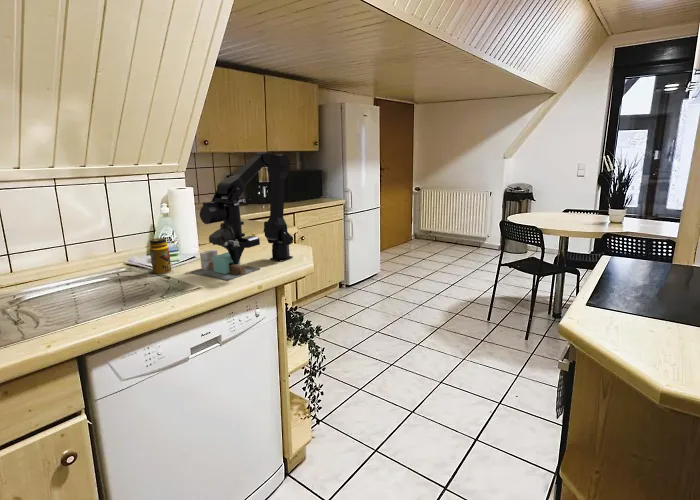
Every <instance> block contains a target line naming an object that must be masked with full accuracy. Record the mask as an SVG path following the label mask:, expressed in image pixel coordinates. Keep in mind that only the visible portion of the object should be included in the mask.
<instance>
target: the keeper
mask: <svg viewBox="0 0 700 500" xmlns="http://www.w3.org/2000/svg"><path fill="white" fill-rule="evenodd" d="M229 263H230V264H234V262H233V260H232V258H231V256H230V254H229V252H228V251H227V252H224V253H221V254H218V255H216V256H213V266H214V272H219V273H224V274H227V273H230V271H229ZM237 265H241V259H240V260H239V263H238V264H237Z"/></svg>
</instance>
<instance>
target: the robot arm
mask: <svg viewBox="0 0 700 500" xmlns="http://www.w3.org/2000/svg"><path fill="white" fill-rule="evenodd" d="M264 167H266V168H267V172H268V174H269V176H270V179H271V180H270V181H271V183H270V208H269V209H270V210H269V218H267V219H268V220H267V221H264V222H263V225H264V227H263V233H264V237H266V241H267V242H268V244H271V247H272V248H271V255H272V256H271V257H269V260H272V261H279V262H284V261H286V260H290V259H293V258H294V256H293V255H290V254H291V253H290V245H292V244H293V241H294V237H293V236H292V234H290V233H289V232H288V226H287V225H288V224H287V223H286V220H285V218H284V209H285V208H284V207H285V205H284V204H285V181H286V178H287V176H288V175H289V173H290V169H291V158H289V156H288V155H286V154H272V153H269V152H266V151H265V152H264V151H263V152H261V151H260V152H256V153H254V154H253V157H251V158H250V159H249V161H247V162H246V163H245V164H244V165H243V166H242V167H241V168H240V169H239V170H237V172H236V173H234V174H233V175H231V176H229V177H227V178H225V179H223V180H221V181H220V182H218V184H217V186H216V191H215V192H214V195H213V196H212V198H211V201H210V202H206V201H205V202H202V207H201V208H200V212H199V217H200V220H201V222H202V223H204V224H205V225H211V224H215V223H220V225H219V226H220V228H219V229H216V230H215V231H214V232H213V233H211V234H209V237H208V242H209V244H212V245H213V246H219V247H222V248H223V249H225V250H227V252H229V254H230V256H231V258H232V260H233V262H234V264H236V265H237V264H238V263H239V260H240V261H241V258H242V255H243V252H244V250H245V249H249V248H253V247H256V246H260V245H261V241H260V238H259V237H258V236H255V235H247V236H246V233H243V231H242V230H243V228H242V226H243V225H245V221H242V219H241V209H240V208H241V207H240V206H242V205H245V204H246V203H245V201H243V200H242V199H241V198H240V197H241V196H242V195H243V193H244V192H245V190H246V185H247V184H248V183H249V182H250V181H251V179H253V177H254V176H256V175H257V174H258V173H259V171H260V170H262V169H263V168H264Z"/></svg>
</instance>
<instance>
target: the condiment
mask: <svg viewBox="0 0 700 500" xmlns="http://www.w3.org/2000/svg"><path fill="white" fill-rule="evenodd" d="M149 243H150V244H149V246H150V247H149V254H150V260H151V269H152V270H146V271H144V272H145V274H146V277H148V278H149V277H155V276H162V275H169V274H173V273H175V271H174V270H173V269H172V263H171V262H172V261H171V256H170V250H169V249H170V248H169V246H168V245H167V244H168V243H167V239H166V238H164V237H158V238H157V237H156V238H152V239H151V240H149Z"/></svg>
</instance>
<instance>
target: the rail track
mask: <svg viewBox="0 0 700 500" xmlns="http://www.w3.org/2000/svg"><path fill="white" fill-rule="evenodd" d="M216 255H219V254H218V250H217V249H209V250H205V251H202V252H199V257H200V265H201V266H200V267H201V268H199V269H195V270H193V271H190V272H189V274H192V275H196V276H197V275H198V276H201V277H206V278H213V279H217V280H220V281H221V280H222V281H226V282H228V281H231V280H235V279H236V278H239V277H242V276H245V275H247V274H250V273H254V272H256V271H259V270H261V268H259V267H254V266H249V265H243V264H240V265H236V264H230V263H229V271H230V273H227V274H224V273H219V272H214V266H213V256H216Z"/></svg>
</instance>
